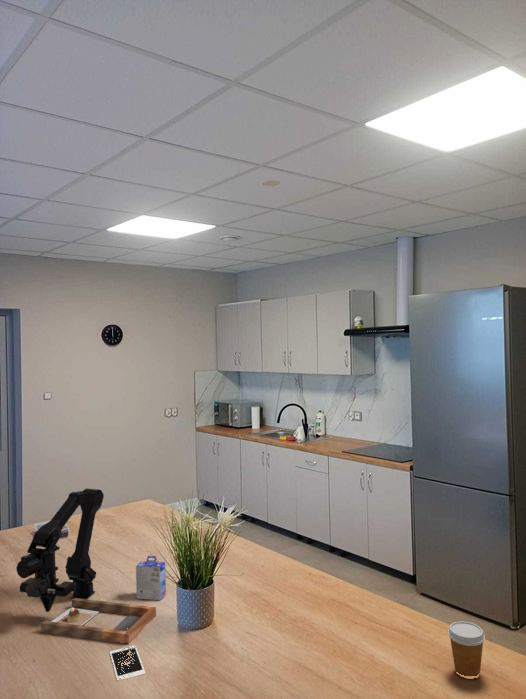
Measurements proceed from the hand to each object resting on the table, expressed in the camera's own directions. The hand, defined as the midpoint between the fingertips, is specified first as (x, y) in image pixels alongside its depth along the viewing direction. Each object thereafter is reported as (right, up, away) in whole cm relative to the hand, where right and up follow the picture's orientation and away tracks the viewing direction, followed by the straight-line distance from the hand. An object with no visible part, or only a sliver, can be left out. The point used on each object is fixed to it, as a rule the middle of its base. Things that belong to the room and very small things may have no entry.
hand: (48, 611), depth 187 cm
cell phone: (+35, -2, -29) cm, 45 cm away
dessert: (+10, -3, -2) cm, 10 cm away
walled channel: (+20, -1, -6) cm, 20 cm away
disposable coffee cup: (+130, +2, -39) cm, 136 cm away
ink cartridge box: (+33, -1, +13) cm, 36 cm away
